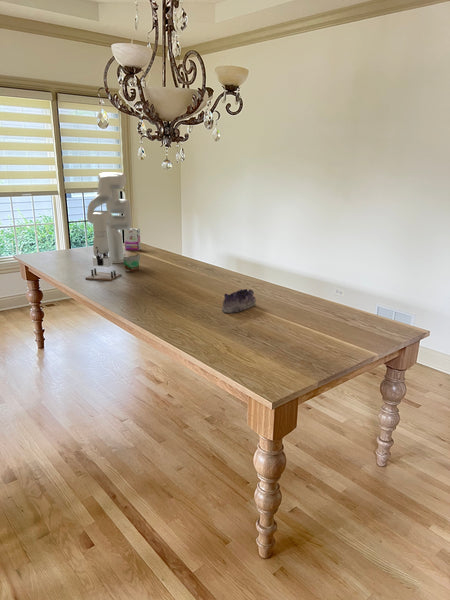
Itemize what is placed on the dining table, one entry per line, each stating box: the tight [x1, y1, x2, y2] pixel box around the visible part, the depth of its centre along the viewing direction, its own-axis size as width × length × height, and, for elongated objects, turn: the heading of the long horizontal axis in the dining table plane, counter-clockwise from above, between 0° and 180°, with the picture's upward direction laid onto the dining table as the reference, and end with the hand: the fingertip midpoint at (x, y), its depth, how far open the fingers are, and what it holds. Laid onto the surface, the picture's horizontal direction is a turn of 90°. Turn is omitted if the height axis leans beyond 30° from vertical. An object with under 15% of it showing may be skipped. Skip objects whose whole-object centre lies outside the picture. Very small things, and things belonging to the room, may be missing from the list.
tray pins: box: [90, 267, 117, 278], centre depth 261 cm, size 4×14×4 cm, turn 74°
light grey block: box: [92, 255, 114, 268], centre depth 259 cm, size 5×10×5 cm, turn 74°
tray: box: [85, 271, 122, 283], centre depth 262 cm, size 14×16×1 cm
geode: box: [221, 288, 257, 315], centre depth 211 cm, size 20×12×10 cm, turn 143°
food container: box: [123, 253, 141, 273], centre depth 276 cm, size 12×6×10 cm, turn 143°
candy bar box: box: [123, 227, 142, 251], centre depth 338 cm, size 11×5×16 cm, turn 80°
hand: (102, 264), depth 259 cm, fingers closed on light grey block, 5 cm apart
